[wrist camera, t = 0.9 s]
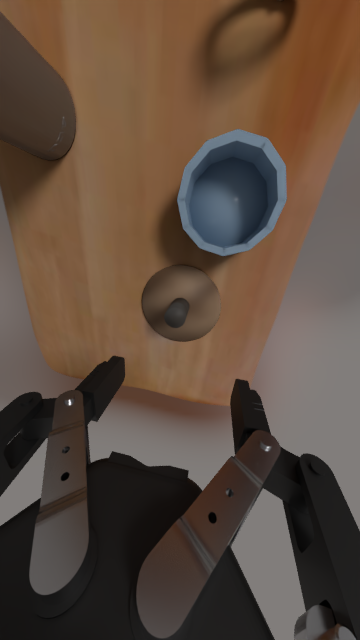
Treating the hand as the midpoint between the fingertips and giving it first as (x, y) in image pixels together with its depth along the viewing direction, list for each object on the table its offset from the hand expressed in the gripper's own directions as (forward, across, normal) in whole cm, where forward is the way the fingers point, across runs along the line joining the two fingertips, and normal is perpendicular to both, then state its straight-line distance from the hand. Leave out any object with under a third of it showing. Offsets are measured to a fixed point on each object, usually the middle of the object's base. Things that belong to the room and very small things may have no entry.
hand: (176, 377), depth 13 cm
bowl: (+18, -2, -13) cm, 23 cm away
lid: (+19, +3, +1) cm, 19 cm away
